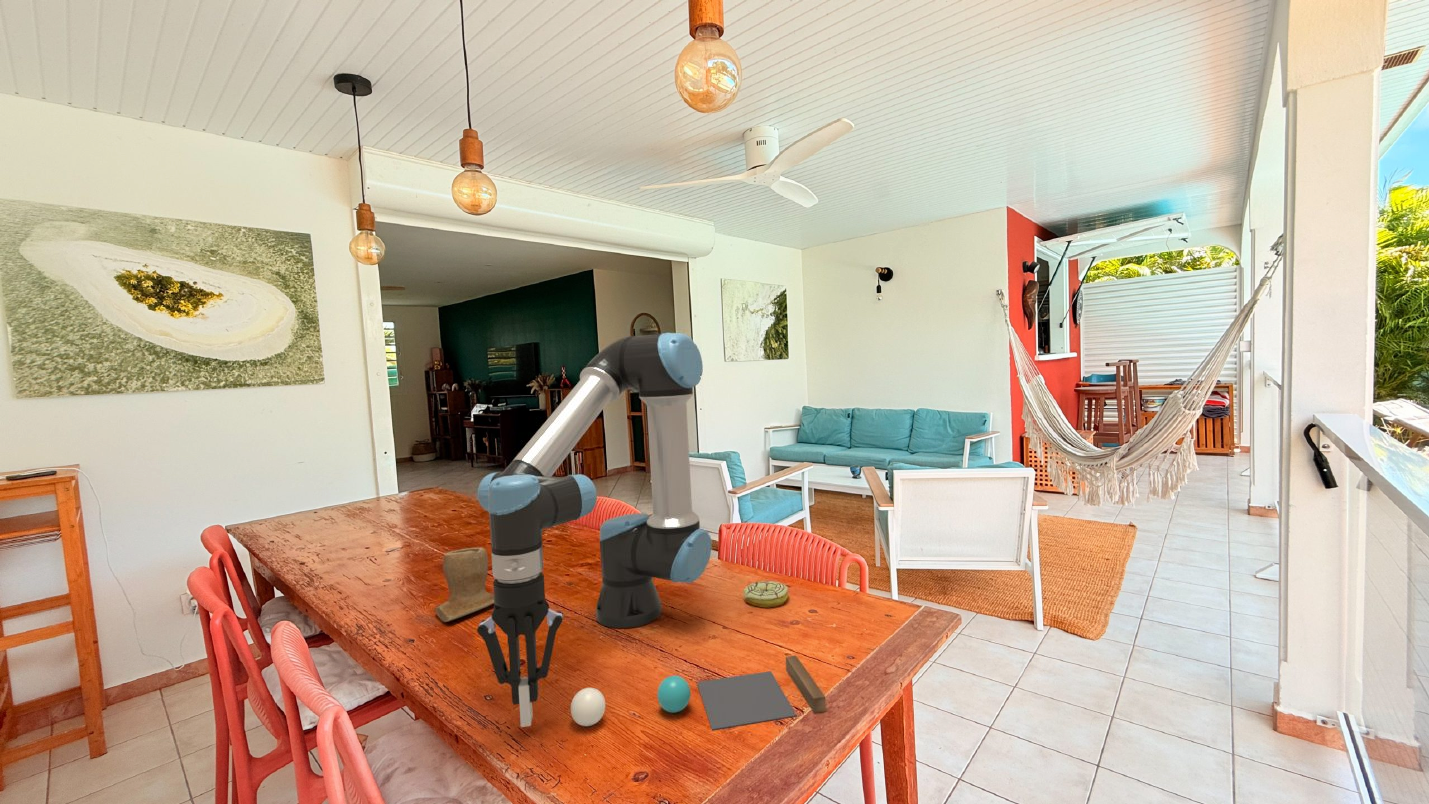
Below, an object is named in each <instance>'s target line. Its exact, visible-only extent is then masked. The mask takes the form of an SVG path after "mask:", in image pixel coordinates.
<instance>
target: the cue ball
mask: <svg viewBox="0 0 1429 804" xmlns="http://www.w3.org/2000/svg"><path fill="white" fill-rule="evenodd" d="M605 711H606V699H605V696H604V695H603V694H602V692H601V691H600V690H599V689H597V688H594V687H585V688H583V689H581V690H579V691H578V692H577V693H576V694H575V695H574V697H573V699H572V700H571V703H570V714H571V717H572V719H573V721H574V722H575V723H576V724H577V725H578V726H582V727H590V726H593V725H595V724H597V723H598V722H599V721H600V720H601V719H602V718H603V716H604V713H605Z"/></svg>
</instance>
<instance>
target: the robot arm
mask: <svg viewBox="0 0 1429 804" xmlns="http://www.w3.org/2000/svg"><path fill="white" fill-rule="evenodd" d="M702 359H703V358H702V355H701V352H700V349H699V347H698V346H697V343H695V342H694V340H693V339H692V338H691V337H690V336H688V335H687V334H685V333H680V332H678V333H677V332H664V333H663V332H662V333H655V334H654V333H653V334H644V335H643V334H642V335H629V336H625V337H622V338H619V339H618V340H615V341H613V342H612V343H610V344H608V345H607V346H606V347H605V348H603V349H602V350H601V351H600V352H598V354H596V355H595V356H594V357H593V358H592V359H591V360H590V361H589V362H588V363H587V365H586V366H585V367H584V368H583V369H582V371H580V374H579V381H578V382H577V384H576V385H575V386H574V387H573V388H572V389H571V391H569V393H568V394H567V396H566V397H564V399H563V400H562V401H561V402H560V403H559V405H558V406H557V407H556V408H555V410H554V411H553V412H552V413H551V415H549V417H548V418H547V419H546V421H545V422H544V423H543V424H542V425H541V426H540V428H539V429H538V430H537V431H536V432H535V434H533V436H532V437H531V438H530V440H529V441H528V442H527V443H526V444H525V446H524V447H523V448H522V449H521V450H520V451H519V452H518V453H517V455H516V456H515V457H514V459H513V460H512V461H511V462H510V463H509V465H508V466H506V467H505V469H504V470H503V471H496V472H492V473H489V474H488V475H486V476H484V477H483V478H482V479H481V481H480V483H479V485H478V488H477V494H476V495H477V499H478V503H479V505H480V506H481V508H482V509H483V510H484V511H486V512H488V519H489V520H488V521H489V533H490V536H489V537H490V544H491V545H490V547H491V568H492V570H491V571H492V577H493V578H494V580H493V582H492V583H493V584H492V586H493V594H494V605H493V611H492V612H491V616H490V617H488V618H487V619H483V620H481V621H480V623H479V624H478V627H477V629H476V632H477V635H479V636H480V638H481V639H482V640H483V641H484V643H485V645H486V649H487V652H488V656H489V657H490V660H491V664H492V667H493V670H494V674H495V677H496V680H497V682H498V684H501V685H503V684H508V685H510V686H511V702H512V704H513V706H516V705H519V718H520V719H519V720H520V728H524V727H531V726H532V721H533V716H534V715H533V703H534V702H537V701H538V698H539V680H541V679H546V678H547V677H548V675H549V670H550V664H551V660H552V655H553V650H554V645H555V644H554V643H555V639H556V634H557V632H558V629H559V628H560V626H561V625H562V623H563V619H564V618H563V617H564V613H563V611H561V610H558V611H555V610H553V609H551V608H550V605H549V603H548V601H547V599H546V592H545V591H546V589H545V575H544V573H543V572H542V571H543V570H544V553H543V551H544V549H543V530H544V531H545V530H547V529H550V528H553V527H556V526H560V525H562V524H566V523H569V522H571V521H577V520H579V519H580V518H583V517H585V516H588V515H589V514H591V512H593V510H594V509H595V508H596V505H597V500H598V495H597V488H596V486H595V484H594V483H593V481H592V480H591V479H590V477H588V476H587V475H584V474H574V475H573V474H568V475H566V476H563V477H553V475H554V474H555V472H556V471H557V470H558V468H559V467H560V466H561V464H562V463H563V462H564V460H566V458H567V457H568V455H569V454H570V453H571V451H572V450H573V449H574V448H575V447H576V445H577V443H579V441H580V439H582V437H583V435H584V434H585V433H586V432H587V431H588V429H589V428H590V426H592V424H593V423H594V421H595V420H596V419H597V418H598V416H599V415H600V413H601V412H602V411H603V410H604V408H605V407H606V406H607V404H608V403H610V402H614V401H616V400H617V399H618V398H619V397H620V395H621V394H622V393H624V392H625V391H627V390H628V391H629V390H632V389H638V397H639V399H640V400H641V401H642V402H643V403H644V404H645V405H646V411H647V412H646V414H647V428H648V429H647V430H648V431H647V432H648V433H647V434H648V445H649V447H648V448H649V464H650V465H649V466H650V480H651V481H650V484H651V501H652V502H651V503H652V514H651V515H649V514H648V513H643V512H639V513H629V514H624V515H619V516H615V517H612V518H609V519H607V520H605V521H603V523H601V526H600V527H599V529H600V530H599V548H600V549H599V550H600V568H601V579H602V580H601V581H602V582H601V583H602V584H601V589H600V593H599V597H598V599H597V603H596V606H595V618H596V621H597V622H598V623H599V624H601V625H602V626H604V627H608V628H612V629H613V628H614V629H631V628H636V627H640V626H644V625H647V624H649V623H652V622H654V621H655V620H657V619H658V618H659V617H660V616H661V614H662V602H661V599H660V597H659V594H658V591H657V588H656V585H655V583H654V580H653V579H659V580H660V579H661V580H666V581H671V582H673V583H683V584H684V583H685V584H691V583H693V582H696V581H697V580H699V578H700V577H701V576H702V575H703V574H704V572H705V571H706V569H707V566H708V564H709V562H710V558H711V554H712V538H711V535H710V534H709V531H707V530H705V529H704V528H701V524H700V523H701V522H700V517H699V515H698V514H697V513H696V512H695V511H693V505H692V503H693V502H692V485H691V484H692V483H691V467H690V466H691V465H690V462H691V461H690V450H689V449H690V446H689V444H690V443H689V429H688V413H687V412H688V407H687V406H688V405H687V403H688V401H689V400H690V399H691V398H692V396H693V395H694V389H693V388H694V387H696V386H697V385H699V383H700V382H701V379H702V375H703V366H704V365H703V360H702ZM545 618H546V620H547V621H546V624H547V626H548V629H547V630H548V631H547V637H546V639H545V646H544V652H543V656H542V662H541V666H538V657H537V656H538V655H537V654H538V653H537V636H536V631H537V630H538V629H539V628H540V626H541V624H542V622H543V621H544V620H545ZM496 625H497V626H498V627H499V628H500V630H501V631H502V632H503V633H504V634H505V635H507V645H508V658H509V659H508V660H509V669H508V666H507V661H506V660H505V656H504V652H503V650H502V647H501V644H500V641H499V638H498V635H497V632H496V631H495V630H496V627H497V626H496ZM520 636H524V640H525V650H526V651H525V652H526V669H527V676H524V677H521V675H522V671H521V656H520Z"/></svg>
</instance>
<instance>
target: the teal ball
mask: <svg viewBox="0 0 1429 804" xmlns="http://www.w3.org/2000/svg"><path fill="white" fill-rule="evenodd" d="M690 699H691V689H690V685H689V683H688V682H687V680H686V679H685V678H683V677H681V676H679V675H671V676H667V677H665V679H663V680H662V681H661V682H660V684H659V686H658V689H657V701H658V703H659V705H660V707H661V708H662V709H663V710H664V711H666V712H668V713H679V712H681V711H683V710H684V709H685V708H686V707H687V706H688V704H689V702H690Z"/></svg>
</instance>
